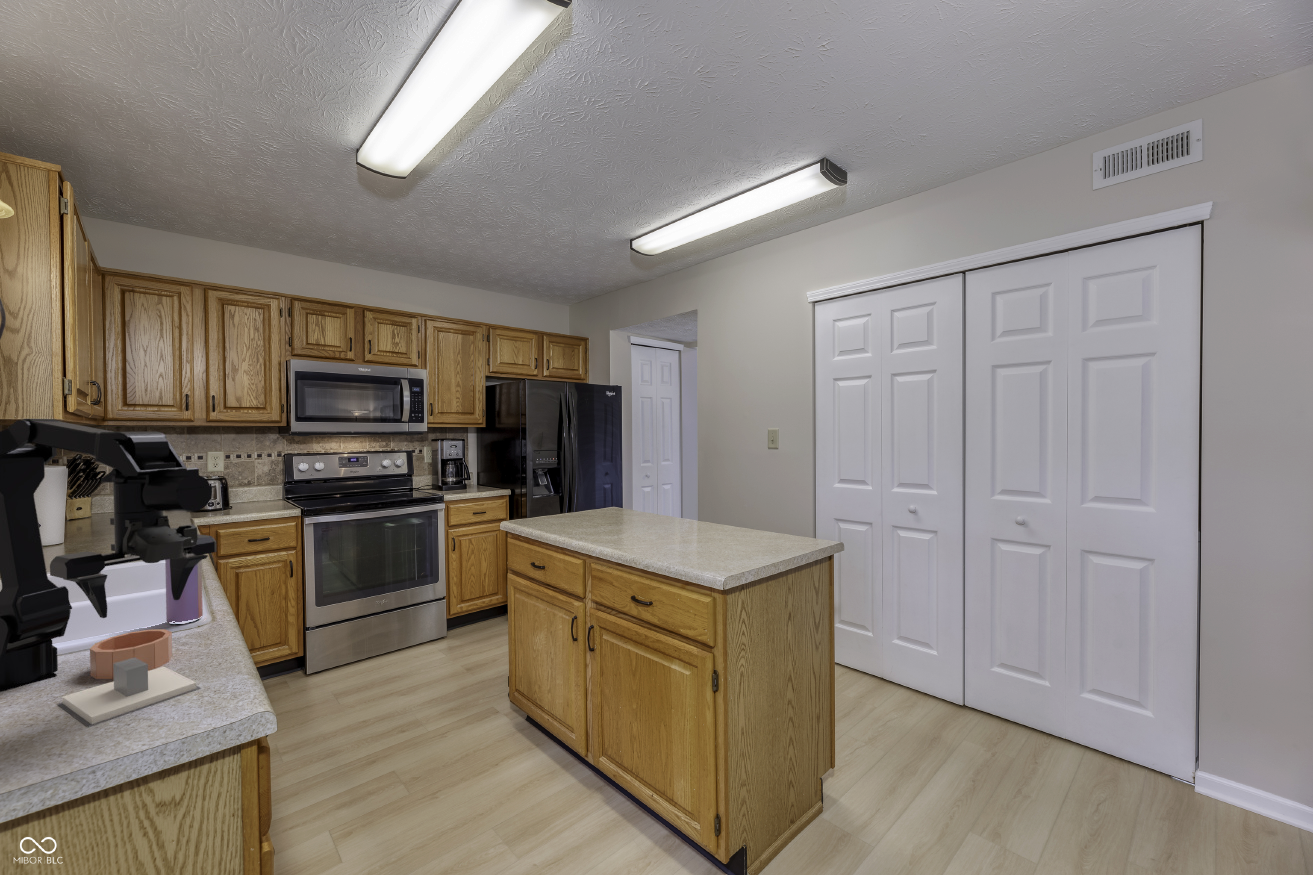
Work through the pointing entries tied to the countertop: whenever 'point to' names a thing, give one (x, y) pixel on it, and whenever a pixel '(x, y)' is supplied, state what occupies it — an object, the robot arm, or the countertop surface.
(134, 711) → the mat
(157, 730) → the countertop surface
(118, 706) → the cover sheet
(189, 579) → the beverage can
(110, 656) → the bowl
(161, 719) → the countertop surface
